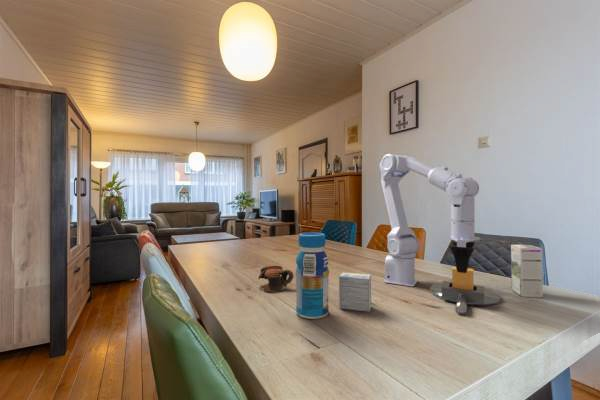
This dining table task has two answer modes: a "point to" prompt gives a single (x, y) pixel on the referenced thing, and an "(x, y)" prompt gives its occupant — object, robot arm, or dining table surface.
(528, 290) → the syrup box
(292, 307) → the dining table surface
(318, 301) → the beverage bottle
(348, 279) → the medicine box
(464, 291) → the rosette joint
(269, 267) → the pottery mug
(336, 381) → the dining table surface
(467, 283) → the orange rectangular block
